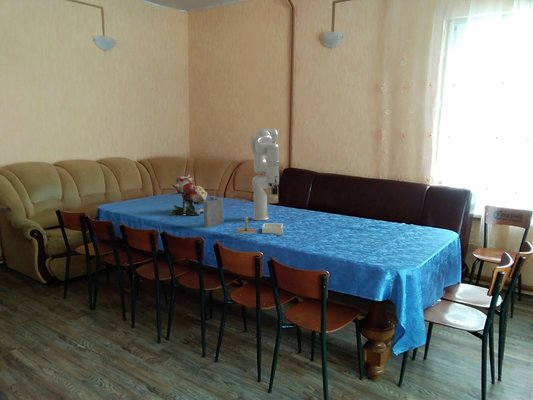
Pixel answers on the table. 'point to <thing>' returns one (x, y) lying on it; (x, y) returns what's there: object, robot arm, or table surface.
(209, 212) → the grey rectangular slab
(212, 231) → the table surface
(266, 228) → the bin
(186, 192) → the rose bouquet
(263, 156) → the robot arm
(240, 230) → the stud base
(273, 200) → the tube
